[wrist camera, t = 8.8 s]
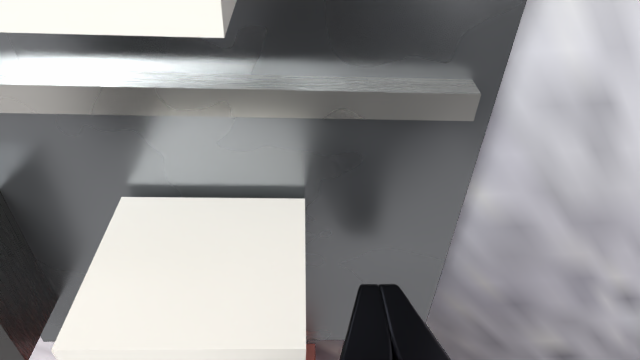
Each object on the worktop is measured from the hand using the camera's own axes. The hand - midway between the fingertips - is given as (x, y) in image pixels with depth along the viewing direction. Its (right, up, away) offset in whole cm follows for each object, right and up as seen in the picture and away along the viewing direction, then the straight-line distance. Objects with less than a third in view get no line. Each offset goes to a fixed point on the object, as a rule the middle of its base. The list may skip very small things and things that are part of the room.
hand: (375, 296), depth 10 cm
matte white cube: (-3, +1, 0) cm, 3 cm away
